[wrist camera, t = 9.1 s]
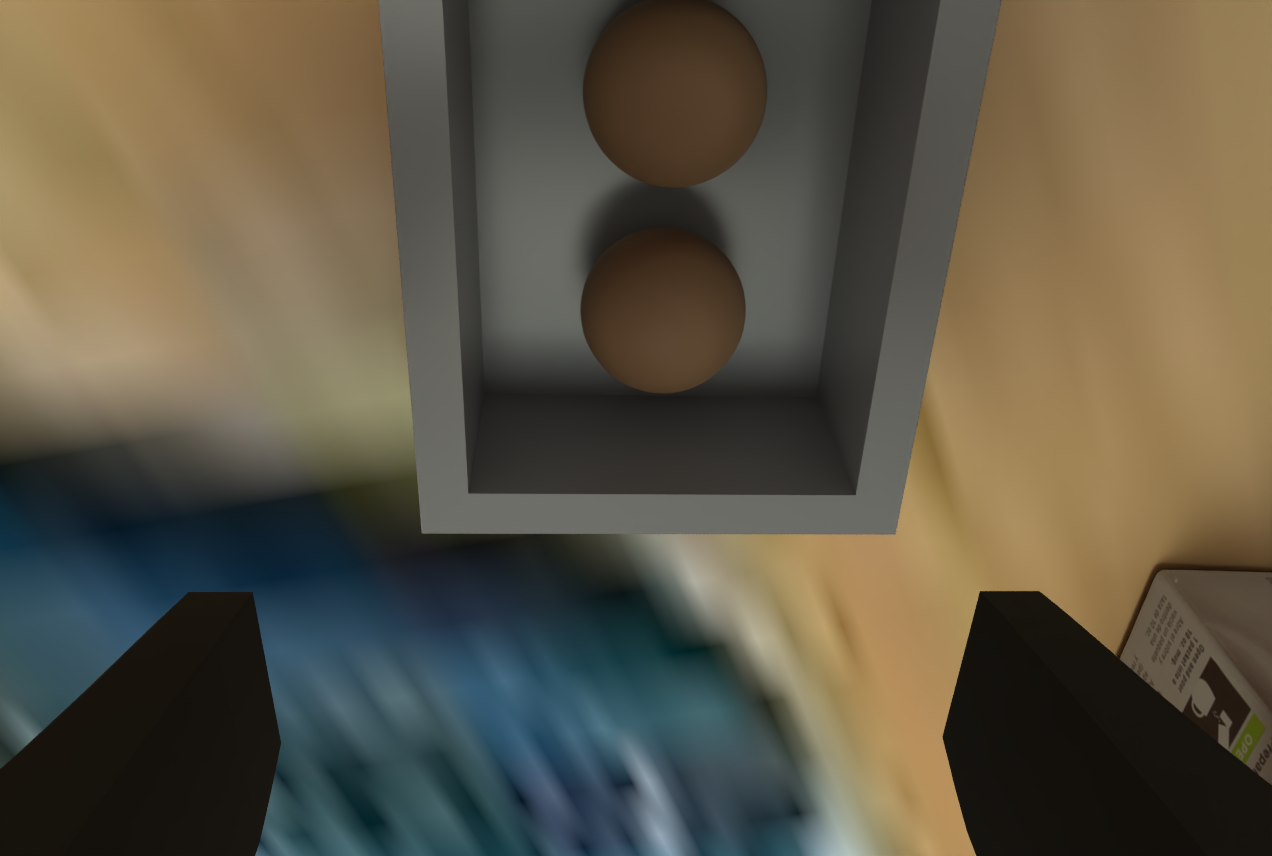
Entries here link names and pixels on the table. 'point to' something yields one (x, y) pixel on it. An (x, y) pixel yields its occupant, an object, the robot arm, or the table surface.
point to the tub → (716, 209)
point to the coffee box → (1211, 655)
